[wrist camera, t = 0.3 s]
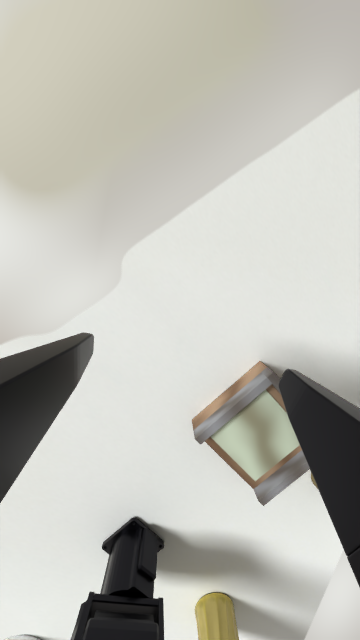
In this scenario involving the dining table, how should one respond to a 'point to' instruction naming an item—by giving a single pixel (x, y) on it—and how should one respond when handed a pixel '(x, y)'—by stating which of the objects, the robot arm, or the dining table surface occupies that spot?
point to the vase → (216, 618)
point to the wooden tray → (254, 433)
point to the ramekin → (22, 637)
